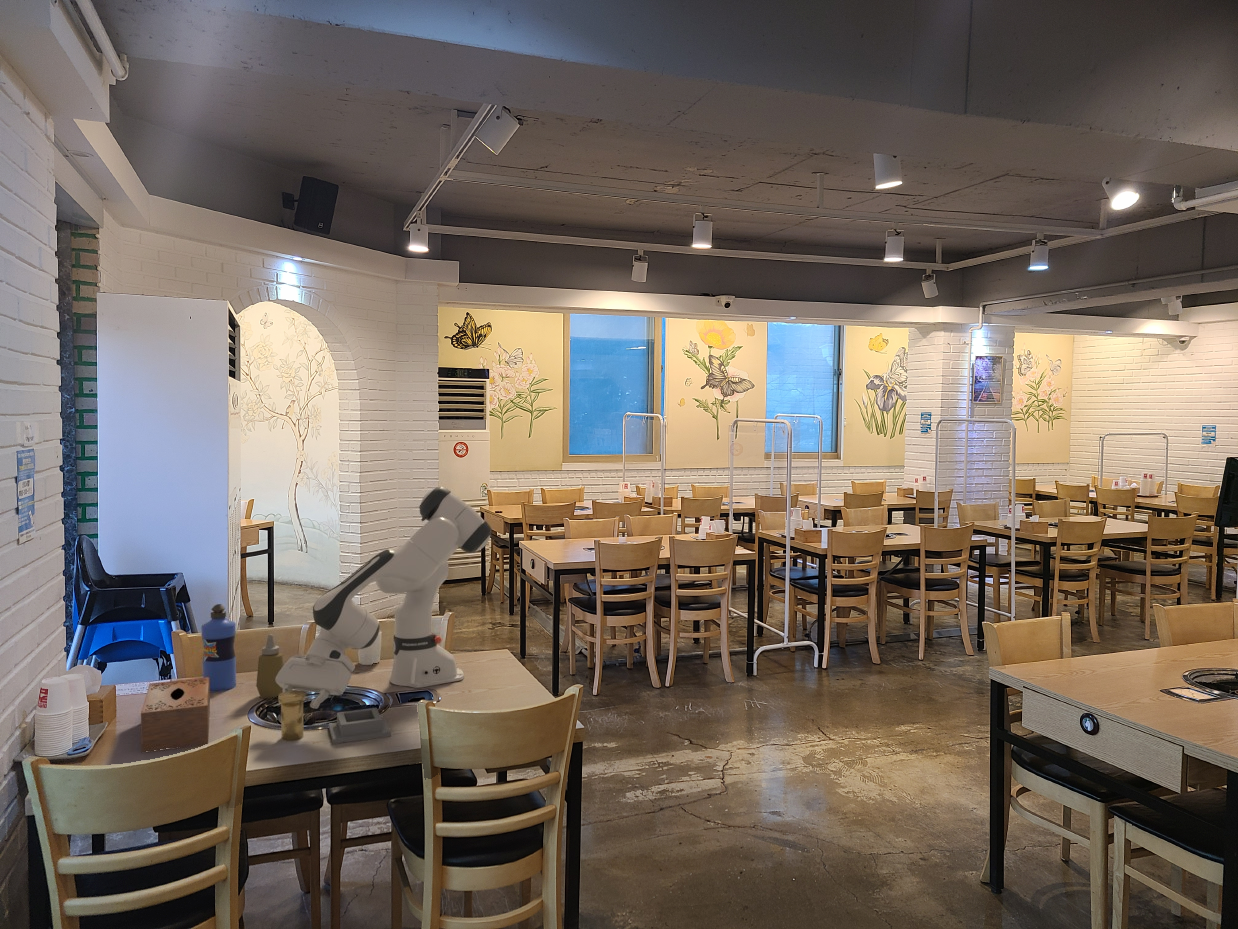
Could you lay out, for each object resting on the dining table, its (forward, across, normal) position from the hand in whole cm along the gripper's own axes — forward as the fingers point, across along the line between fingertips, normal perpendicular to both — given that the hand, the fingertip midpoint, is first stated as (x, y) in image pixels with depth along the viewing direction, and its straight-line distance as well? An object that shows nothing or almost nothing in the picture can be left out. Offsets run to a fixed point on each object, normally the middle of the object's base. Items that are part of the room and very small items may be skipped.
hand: (298, 705), depth 216 cm
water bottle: (-11, -50, +22) cm, 55 cm away
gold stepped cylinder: (+7, -1, +4) cm, 8 cm away
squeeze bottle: (-10, -29, +21) cm, 38 cm away
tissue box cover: (+12, -31, 0) cm, 33 cm away
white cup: (-38, -25, +49) cm, 67 cm away
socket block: (0, +13, +11) cm, 17 cm away
